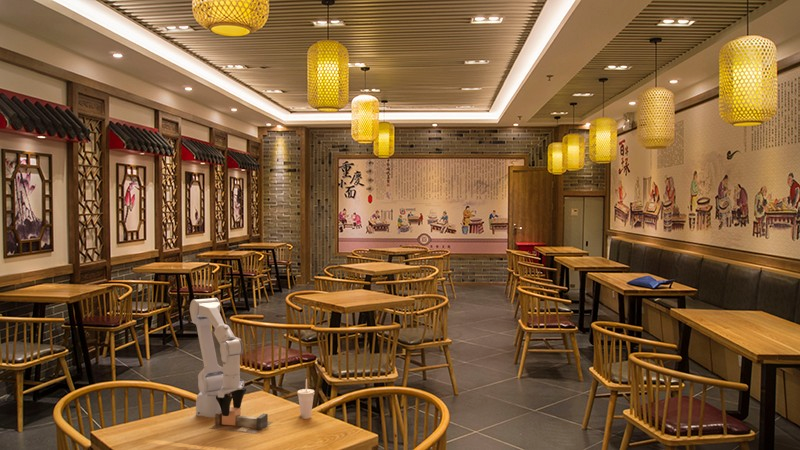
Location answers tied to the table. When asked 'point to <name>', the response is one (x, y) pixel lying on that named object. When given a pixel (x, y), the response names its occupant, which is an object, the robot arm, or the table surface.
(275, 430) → the table surface
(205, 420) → the table surface
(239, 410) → the sleeve
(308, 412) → the smoothie
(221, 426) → the rail board
